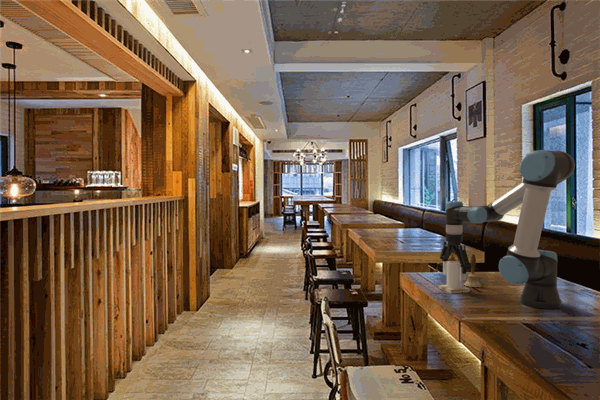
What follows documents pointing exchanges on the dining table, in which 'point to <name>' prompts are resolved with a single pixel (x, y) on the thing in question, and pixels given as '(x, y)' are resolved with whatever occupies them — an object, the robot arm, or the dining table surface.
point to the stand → (450, 290)
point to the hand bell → (472, 274)
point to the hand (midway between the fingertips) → (454, 277)
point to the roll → (453, 275)
